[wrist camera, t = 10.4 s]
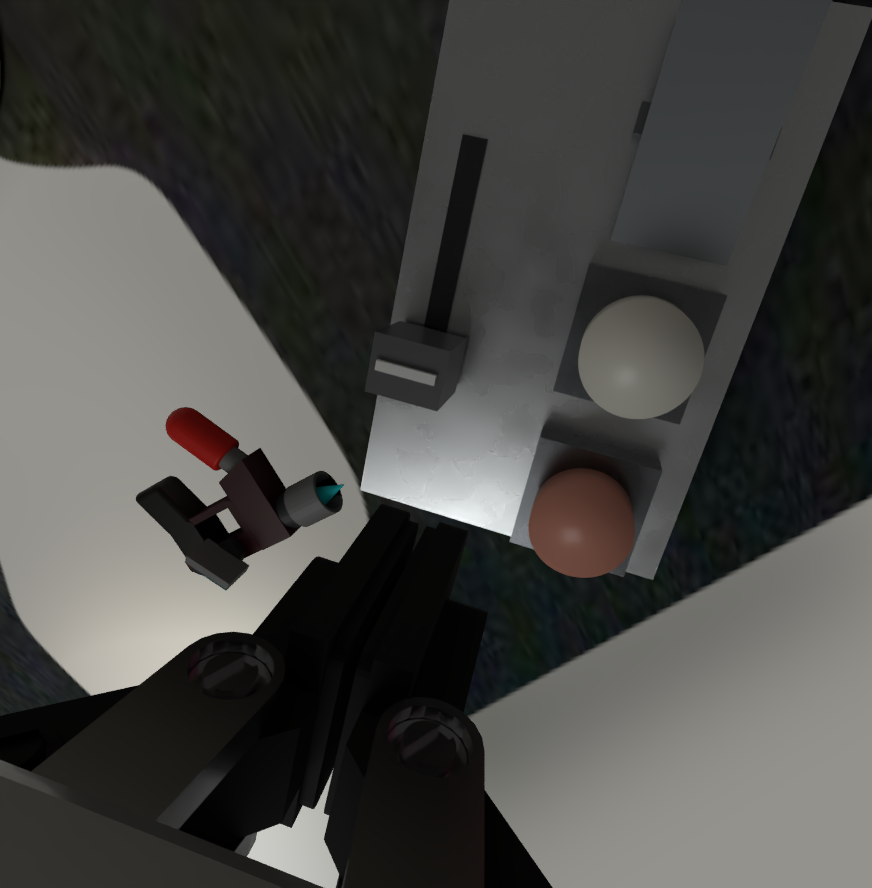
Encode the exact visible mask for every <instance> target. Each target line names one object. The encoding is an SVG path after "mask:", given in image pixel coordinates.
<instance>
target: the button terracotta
mask: <svg viewBox="0 0 872 888" xmlns="http://www.w3.org/2000/svg"><path fill="white" fill-rule="evenodd" d="M528 531H529V537H530V541H531V544H532V546H533V548H534V550H535V552H536V553H537V555H538V556H539V557H540V558H541V560H542V561H543V562H544V563H546V564H547V565H548V566H549V567H551V568H552V569H554V570H556V571H558V572H560V573H562V574H565V575H569V576H573V577H581V578H588V577H595V576H600V575H603V574H606V573H608V572H610V571H612V570H613V569H615V568H617V567H618V566H619V565H620V564H621V563H622V562H623V561H624V560H625V559H626V558H627V556H628V555H629V553H630V551H631V549H632V547H633V543H634V538H635V525H634V516H633V508H632V504H631V501H630V498H629V496H628V494H627V493H626V491H625V490H624V488H623V487H622V486H621V485H620V484H619V483H618V482H617V481H616V480H615V479H613V478H612V477H610V476H609V475H607V474H605V473H603V472H600V471H597V470H593V469H586V468H575V469H569V470H565V471H562V472H560V473H557V474H556V475H554V476H552V477H551V478H549V479H548V480H547V481H546V482H545V483H544V484H543V485H542V486H541V488H540V489H539V490H538V492H537V494H536V497H535V499H534V503H533V506H532V510H531V514H530V518H529V525H528Z"/></svg>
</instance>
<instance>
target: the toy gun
mask: <svg viewBox="0 0 872 888" xmlns="http://www.w3.org/2000/svg"><path fill="white" fill-rule="evenodd" d="M166 430H167V434H168V435H169V437H170V438H171V439H172V440H174V441H175V442H177V443H178V444H179V445H180V446H182V447H183V448H184V449H186V450H187V451H189V452H190V453H191V454H193V455H194V456H196V457H197V458H198V459H199V460H201V461H202V462H204V463H205V464H206V465H208V466H209V467H211V468H212V469H213V470H220V469H221V468H222V469H223V470H225V471H226V472H227V473H228V474H227V475H226V476H225V477H224V478H223V479H222V480H221V481H220V482H219V484H220V485H221V487H222V488H223V490H224V491H225V493H226V494H227V496H226V497H224V498H222V499H220V500H218V501H217V502H215V503H213V504H211V505H209V506H208V507H207V506H206V505H205V504H204V503H202V501H200V499H199V498H198V497H197V496H196V495H195V494H193V492H192V491H190V489H188V488H187V487H186V486H185V485H184V484H183V483H182V482H181V481H180V480H179V479H178V478H177V477H174V476H169V477H167V478H165V479H163V480H162V481H160V482H158V483H156V484H154V485H153V486H151V487H149V488H148V489H146V490H144V491H142V492H141V493H139V494H138V495H137V497H136V501H137V502H138V503H139V504H140V506H142V507H143V508H144V509H145V510H146V511H147V512H148V513H149V514H150V515H151V516H152V517H153V518H154V519H155V520H156V521H157V522H158V523H159V524H160V525H161V526H162V527H163V528H164V529H165V530H166V531H167V532H168V533H169V534H170V535H171V536H172V537H173V539H174V541H175V542H176V543H177V545H178V546H179V548H180V549H181V551H182V552H183V554H184V555H185V557H186V561H185V563H186V564H187V566H188V567H189V569H190V570H191V571H192V572H195V573H197V574H200V575H203V576H206V577H207V578H208V579H209V580H211V581H212V582H214V583H215V584H217V585H219V586H220V587H222V588H223V589H225V590H227V589H228V588H229V587H230V586H231V585H232V584H233V583H234V582H235V581H236V580H237V579H238V578H240V576H241V575H243V573H245V572H246V571H247V569H248V567H249V565H247V564H246V563H245V562H243V561H242V560H243V559H244V558H246V557H248V556H250V555H252V554H254V553H256V552H258V551H260V550H264V549H266V548H268V547H270V546H272V545H274V544H276V543H278V542H281V541H283V540H284V539H287V538H289V537H291V536H292V535H293V533H295V532H296V531H297V530H298V529H299V528H300V527H301V526H303V527H307V526H310V525H312V524H314V523H316V522H318V521H320V520H322V519H325V518H326V517H329V516H331V515H333V514H335V513H337V512H339V511H340V510H341V508H342V504H343V499H342V494H341V491H340V489H341V488H342V487H343V484H342V485H337V483H336V481H335V480H334V479H333V478H332V476H330V475H329V474H328V473H326V472H324V471H319V472H316V473H314V474H312V475H310V476H308V477H306V478H305V479H303V480H301V481H299V482H297V483H295V484H293V485H291V486H289V487H288V488H287V489H286V487H285V486H284V484H283V483H282V481H281V479H280V478H279V476H278V475H277V473H276V471H275V470H274V469H273V467H272V465H271V464H270V462H269V460H268V459H267V457H266V456H265V454H264V453H263V451H262V449H261V448H259V449H258V450H256V451H255V452H253V453H252V454H250V455H247V454H245V453H244V452H243V451H241V450H240V449H238V446H239V442H238V441H237V440H236V439H235V438H233V437H232V436H231V435H229V434H228V433H226V432H225V431H224V430H222V429H221V428H220V427H218V426H217V425H216V424H214V423H213V422H212V421H210V420H209V419H207V418H206V417H204V416H203V415H202V414H201V413H199V412H198V411H196V410H194V409H192V408H187V407H184V408H179V409H177V410H175V411H173V412H172V413H171V414H170V416H169V417H168V419H167V422H166ZM226 508H228V509H229V510H230V512H231V514H232V515H233V516H234V518H235V520H236V521H237V523H238V524H239V526H240V527H241V528H239V529H237V530H235V531H233V532H231V533H228V531H227V530H226V528H225V527H224V525H223V524H222V522H221V520H220V519H219V517H218V516H217V513H219V512H221V511H222V510H224V509H226Z"/></svg>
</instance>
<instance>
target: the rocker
mask: <svg viewBox="0 0 872 888" xmlns="http://www.w3.org/2000/svg"><path fill="white" fill-rule="evenodd" d="M831 2H832V0H681V3H680V7H679V10H678V13H677V17H676V20H675V24H674V27H673V30H672V34H671V37H670V40H669V44H668V47H667V51H666V54H665V57H664V61H663V64H662V67H661V71H660V74H659V78H658V81H657V84H656V88H655V91H654V94H653V98H652V101H651V105H650V108H649V111H648V115H647V118H646V121H645V125H644V128H643V132H642V135H641V138H640V142H639V145H638V148H637V152H636V155H635V159H634V162H633V165H632V169H631V172H630V175H629V179H628V182H627V186H626V189H625V192H624V196H623V199H622V202H621V206H620V209H619V213H618V216H617V219H616V223H615V226H614V229H613V233H612V237H611V240H612V241H617V242H621V243H626V244H630V245H634V246H639V247H643V248H648V249H652V250H657V251H661V252H665V253H670V254H674V255H679V256H683V257H688V258H692V259H697V260H701V261H705V262H710V263H714V264H719V265H723V266H727V264H728V261H729V259H730V256H731V254H732V251H733V249H734V246H735V244H736V241H737V239H738V236H739V234H740V231H741V229H742V226H743V224H744V221H745V219H746V216H747V214H748V211H749V208H750V206H751V203H752V201H753V198H754V196H755V193H756V191H757V188H758V186H759V183H760V181H761V178H762V176H763V173H764V171H765V168H766V166H767V163H768V161H769V158H770V156H771V153H772V151H773V148H774V146H775V143H776V141H777V138H778V136H779V133H780V130H781V128H782V125H783V123H784V120H785V118H786V115H787V113H788V110H789V108H790V105H791V103H792V100H793V98H794V95H795V93H796V90H797V88H798V85H799V83H800V80H801V78H802V75H803V73H804V70H805V68H806V65H807V63H808V60H809V58H810V55H811V52H812V50H813V47H814V45H815V42H816V40H817V37H818V35H819V32H820V30H821V27H822V25H823V22H824V20H825V17H826V15H827V12H828V10H829V7H830V5H831Z"/></svg>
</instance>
